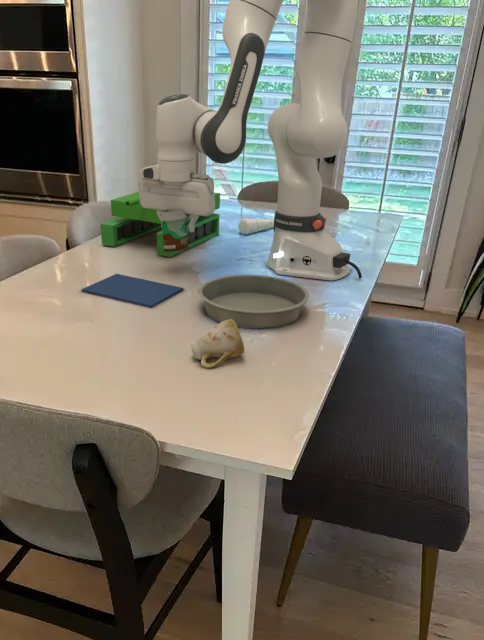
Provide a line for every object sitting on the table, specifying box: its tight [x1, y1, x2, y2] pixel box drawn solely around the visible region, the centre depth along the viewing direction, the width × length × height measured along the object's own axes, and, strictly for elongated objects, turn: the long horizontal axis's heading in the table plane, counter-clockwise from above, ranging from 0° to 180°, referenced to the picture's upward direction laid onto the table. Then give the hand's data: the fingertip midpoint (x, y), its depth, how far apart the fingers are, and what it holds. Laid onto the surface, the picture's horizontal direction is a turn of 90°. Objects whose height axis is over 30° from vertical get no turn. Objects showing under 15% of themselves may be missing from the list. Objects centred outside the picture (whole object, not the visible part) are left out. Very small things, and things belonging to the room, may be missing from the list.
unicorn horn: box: [237, 217, 274, 235], centre depth 197 cm, size 5×24×5 cm, turn 130°
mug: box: [190, 319, 245, 369], centre depth 114 cm, size 8×10×10 cm
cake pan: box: [197, 274, 310, 329], centre depth 135 cm, size 25×25×4 cm
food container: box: [161, 210, 189, 252], centre depth 152 cm, size 12×6×10 cm, turn 168°
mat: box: [81, 273, 184, 309], centre depth 145 cm, size 20×14×1 cm
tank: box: [100, 181, 221, 258], centre depth 178 cm, size 24×35×16 cm
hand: (177, 229), depth 153 cm, fingers closed on food container, 6 cm apart
